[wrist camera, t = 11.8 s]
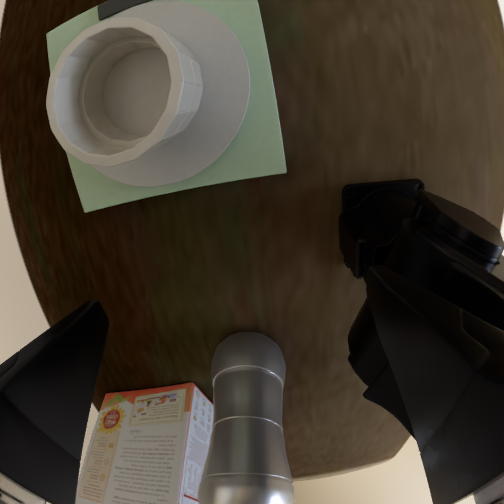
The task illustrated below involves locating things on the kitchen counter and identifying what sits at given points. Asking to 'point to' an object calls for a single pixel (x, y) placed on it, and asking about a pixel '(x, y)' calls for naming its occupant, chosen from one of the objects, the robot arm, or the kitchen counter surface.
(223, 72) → the scale
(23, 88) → the kitchen counter surface
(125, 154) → the bowl
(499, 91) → the kitchen counter surface
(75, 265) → the kitchen counter surface
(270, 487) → the silver metal bottle
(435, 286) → the robot arm
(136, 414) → the cracker box
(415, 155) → the kitchen counter surface
